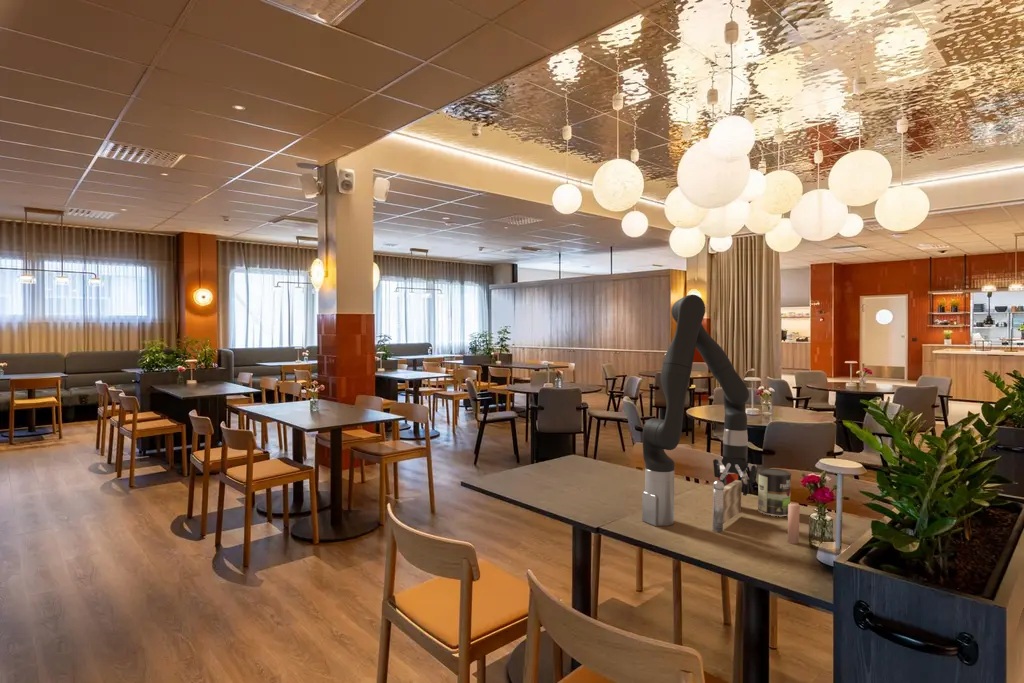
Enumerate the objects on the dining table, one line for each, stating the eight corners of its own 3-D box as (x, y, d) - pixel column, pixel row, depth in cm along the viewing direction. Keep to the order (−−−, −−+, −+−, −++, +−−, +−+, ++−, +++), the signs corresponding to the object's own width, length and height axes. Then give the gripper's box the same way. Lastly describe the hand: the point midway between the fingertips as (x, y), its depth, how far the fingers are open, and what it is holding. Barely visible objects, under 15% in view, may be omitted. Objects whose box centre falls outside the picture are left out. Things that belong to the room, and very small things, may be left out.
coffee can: (796, 513, 191) (797, 472, 191) (780, 519, 185) (781, 477, 185) (767, 505, 200) (768, 466, 199) (751, 510, 194) (752, 470, 193)
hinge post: (718, 533, 172) (719, 482, 171) (709, 529, 175) (710, 479, 174) (725, 531, 173) (726, 481, 173) (716, 528, 176) (717, 478, 176)
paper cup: (740, 510, 194) (741, 470, 194) (717, 509, 195) (718, 469, 195) (736, 503, 202) (737, 465, 201) (714, 502, 203) (714, 463, 203)
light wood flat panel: (723, 524, 175) (724, 491, 175) (717, 523, 176) (717, 490, 176) (741, 512, 188) (742, 480, 188) (735, 510, 189) (736, 479, 189)
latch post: (794, 544, 163) (795, 507, 163) (785, 541, 166) (786, 504, 165) (801, 542, 165) (801, 505, 164) (791, 539, 167) (792, 503, 167)
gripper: (761, 444, 183) (760, 494, 184) (717, 438, 192) (716, 486, 193) (754, 447, 177) (753, 499, 178) (709, 441, 187) (708, 491, 187)
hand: (734, 492), depth 185 cm, fingers open, 6 cm apart
